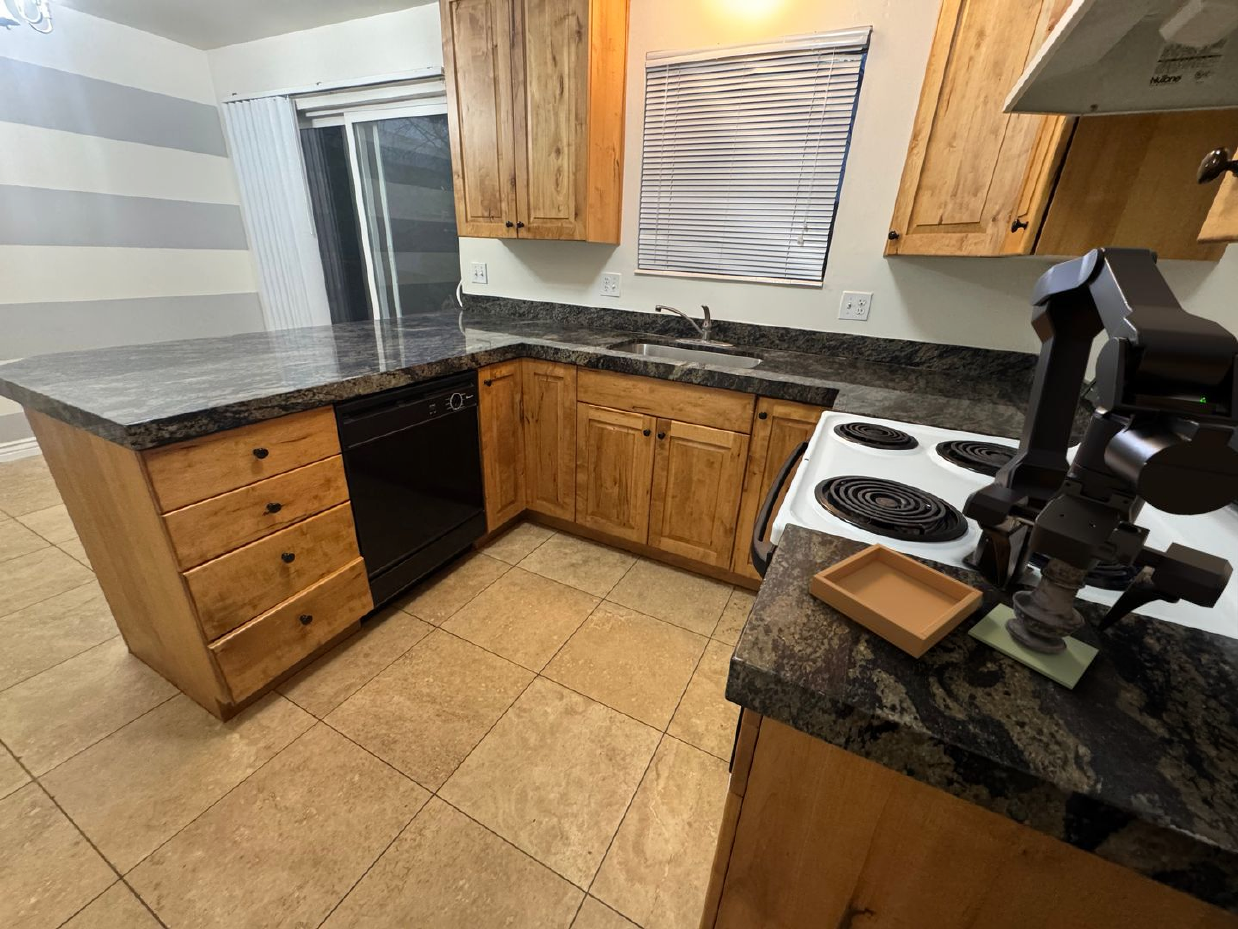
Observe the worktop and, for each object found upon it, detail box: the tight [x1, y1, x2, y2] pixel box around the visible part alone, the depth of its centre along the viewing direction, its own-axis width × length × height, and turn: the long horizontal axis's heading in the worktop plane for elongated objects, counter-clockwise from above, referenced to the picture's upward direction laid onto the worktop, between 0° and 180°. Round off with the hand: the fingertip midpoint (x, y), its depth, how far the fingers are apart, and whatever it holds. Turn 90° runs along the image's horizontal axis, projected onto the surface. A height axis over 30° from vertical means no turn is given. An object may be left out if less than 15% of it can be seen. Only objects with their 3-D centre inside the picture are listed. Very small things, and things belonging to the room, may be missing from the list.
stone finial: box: [1005, 556, 1088, 654], centre depth 50 cm, size 6×6×12 cm
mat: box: [967, 603, 1099, 690], centre depth 53 cm, size 9×9×1 cm
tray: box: [808, 542, 984, 659], centre depth 58 cm, size 15×13×2 cm
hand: (1047, 607), depth 51 cm, fingers closed on stone finial, 8 cm apart
